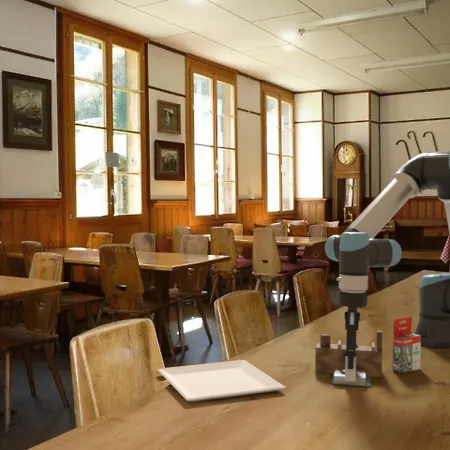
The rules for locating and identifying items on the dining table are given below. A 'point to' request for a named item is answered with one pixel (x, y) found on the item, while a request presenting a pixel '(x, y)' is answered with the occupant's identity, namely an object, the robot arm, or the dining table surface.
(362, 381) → the lever cap
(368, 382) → the rubber mat
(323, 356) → the body
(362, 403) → the dining table surface
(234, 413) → the dining table surface
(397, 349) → the ink box
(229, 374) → the plate
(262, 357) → the dining table surface
